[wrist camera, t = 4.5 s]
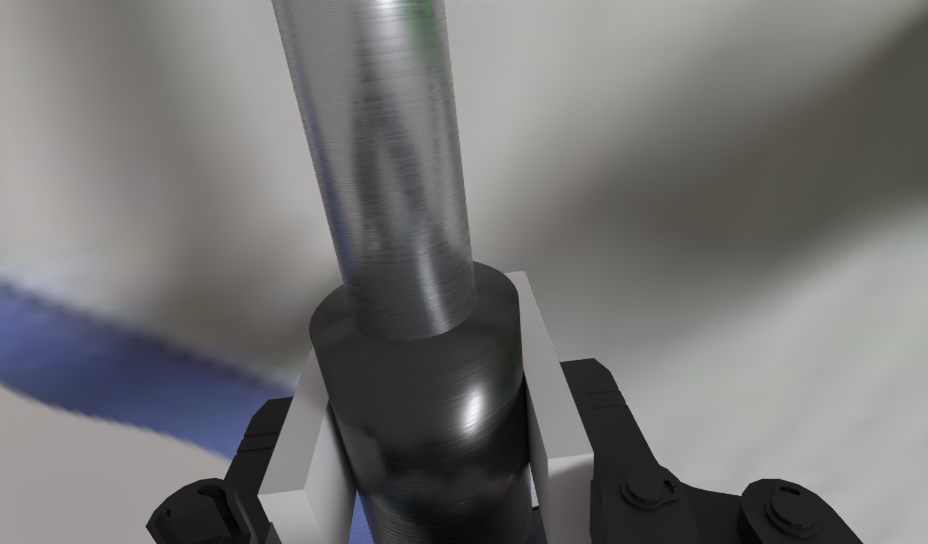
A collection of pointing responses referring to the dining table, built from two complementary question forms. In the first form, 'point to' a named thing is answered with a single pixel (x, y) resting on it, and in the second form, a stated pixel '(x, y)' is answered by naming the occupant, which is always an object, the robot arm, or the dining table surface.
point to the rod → (408, 280)
